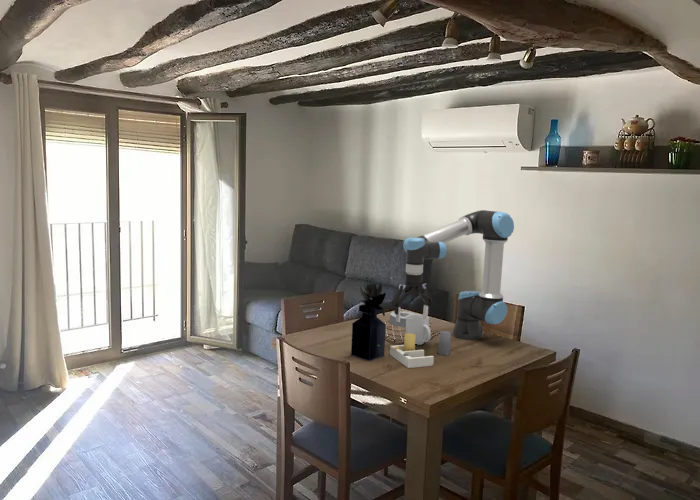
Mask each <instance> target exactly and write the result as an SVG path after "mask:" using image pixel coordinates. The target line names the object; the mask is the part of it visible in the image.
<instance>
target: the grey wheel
mask: <svg viewBox="0 0 700 500" xmlns="http://www.w3.org/2000/svg"><path fill="white" fill-rule="evenodd" d="M410 314H416V313H414V312H412V311H404V310H403V311H400V322H397V321H396V314H395V313H394V311H392V312H390V314H389V324H390V325H392V326H395V327H398V328H400V327H401V328H406V316H407V315H410Z"/></svg>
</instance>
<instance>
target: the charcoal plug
mask: <svg viewBox="0 0 700 500" xmlns="http://www.w3.org/2000/svg"><path fill="white" fill-rule="evenodd" d="M451 334H452V332H451V331H449V330H441V331H439V338H438V354H439V355H440V356H449V355H450V354H451V352H450V351H451V339H452V337H451V336H452V335H451Z"/></svg>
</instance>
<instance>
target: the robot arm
mask: <svg viewBox="0 0 700 500" xmlns="http://www.w3.org/2000/svg"><path fill="white" fill-rule="evenodd" d="M514 229H515V222H514V219H513V218H512V217H511V215H510V214H509V213H507V212H502V211H495V210H494V211H493V210H492V211H491V210H486V209H485V210H484V209H483V210H481V209H480V210H476V211H474V212H471V213H468V214H465V215H463V216H460V217H459V218H458V220H456V221H454V222H451V223H448V224H446V225H444V226H441V227H439V228H436V229H434V230H431V231H429V232H427V233H425V234H422V235H420V236H417V237H407V238H406V239H405V240H404V241H403V245H402V247H403V250H404V252H405V253H406V257H405V258H406V259H405V272H406V273H405V274H404V275H405V277H404V281H405V284H400V283H398V286H397V290H396V291H395V294H394V296H393V298H392V299H391V303H390V306H393V307H394V310H393V312H394V313H395V314H396V321H397V322H400V311H401V310H402V309H401V307H400V306H401V305H402V304H403V303H404V301H405V300H406V299H407V298H408V296H410V295H412V296H413V295H418V296H419V297H420V298H421V300H422V301H423V303H424V304H423V309H422V310H423V313H422V315H423V319H424V320H427V318H428V317H429V316H428V315H429V313H430V308H431V306H432V305H433V304H434V305H435V302H434V299H433V296H432V294H431V290H430V288H429V286H430V285H429V284H428V283H425V282H424V283H423V280H424V278H423V277H424V275H423V273H424V263H425V262H424V260H434V259H435V260H436V259H437V260H439V259H443V258H445V257H446V254H447V250H448V249H447V245H446V243H447V242H450V241H454V240H455V239H457V238H459V237H462V236H469V235H472V234H480V235H482V240H483V242H484V243H485V247H484V258H483V259H484V261H483V273H482V274H483V275H482V286H481V287H482V288H481V291H480V290H465V291H460V293H459V294H458V299H457V316H456V321H455V324H454V327H453V329H452V335H453V336H454V337H455V338H458V339H462V340H463V339H464V340H470V341H471V340H474V341H475V340H481V339H483V335H484V332H483V327H482V324H481V321H483V322H485V323H487V324H491V325H497V324H498V325H499V324H500V323H502V322H503V320H504V319H505V318H506V316H507V313H508V305H507V304H506V303H505V302H504V296H503V294H502V293H501V288H502V287H501V285H502V275H503V274H502V273H503V261H504V247H505V244H506V243H507V242H508V239H509V238H510V237H511V236H512V234H513V233H514V231H515V230H514ZM422 289H423V290H424V293H425V295H426V296H425V295H424V293H423V291H422Z"/></svg>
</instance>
